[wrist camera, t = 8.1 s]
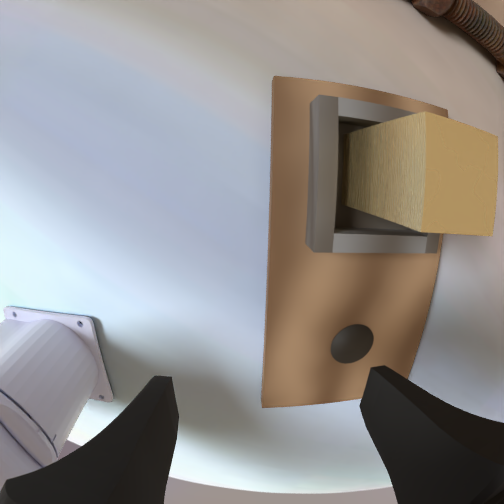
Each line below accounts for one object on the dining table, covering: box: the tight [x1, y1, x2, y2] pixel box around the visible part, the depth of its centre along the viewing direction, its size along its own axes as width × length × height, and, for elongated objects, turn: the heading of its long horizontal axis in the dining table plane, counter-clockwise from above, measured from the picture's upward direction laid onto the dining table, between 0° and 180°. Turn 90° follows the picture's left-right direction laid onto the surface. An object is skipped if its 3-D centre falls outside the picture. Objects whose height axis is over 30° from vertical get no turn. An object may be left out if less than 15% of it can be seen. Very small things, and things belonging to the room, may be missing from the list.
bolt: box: [411, 0, 504, 78], centre depth 12 cm, size 6×5×15 cm
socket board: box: [261, 76, 448, 408], centre depth 17 cm, size 12×22×3 cm, turn 179°
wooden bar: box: [341, 111, 498, 236], centre depth 12 cm, size 4×4×8 cm
